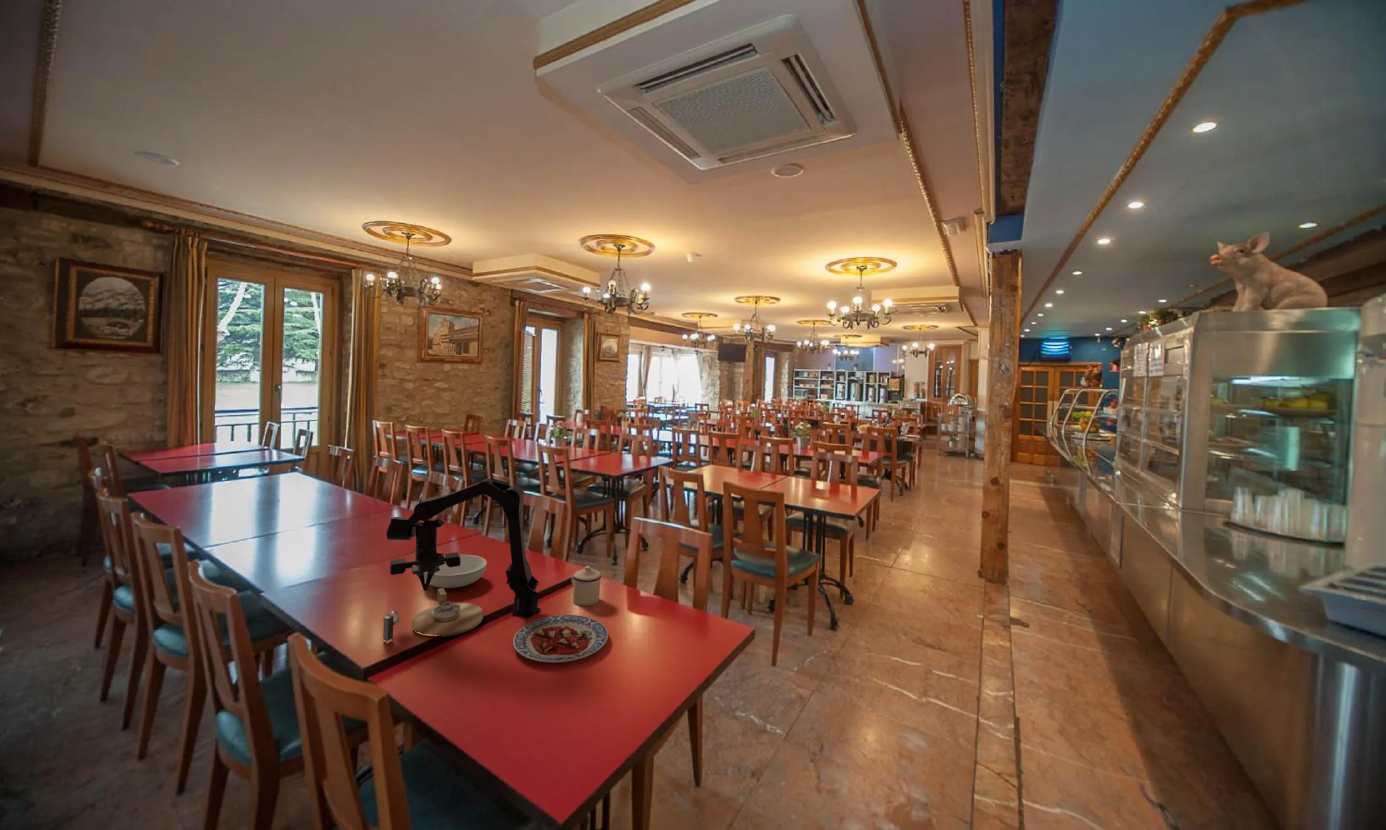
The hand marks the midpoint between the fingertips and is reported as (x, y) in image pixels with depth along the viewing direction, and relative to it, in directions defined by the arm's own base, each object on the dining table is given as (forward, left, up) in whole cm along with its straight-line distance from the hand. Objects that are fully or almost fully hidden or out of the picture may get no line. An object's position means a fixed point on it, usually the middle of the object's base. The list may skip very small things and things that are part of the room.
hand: (425, 590), depth 153 cm
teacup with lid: (-38, -29, -7) cm, 48 cm away
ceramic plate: (-47, -2, -7) cm, 48 cm away
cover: (-11, +2, -5) cm, 12 cm away
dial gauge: (-5, +17, -7) cm, 19 cm away
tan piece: (-11, +2, -7) cm, 13 cm away
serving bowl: (+9, -21, -7) cm, 24 cm away
